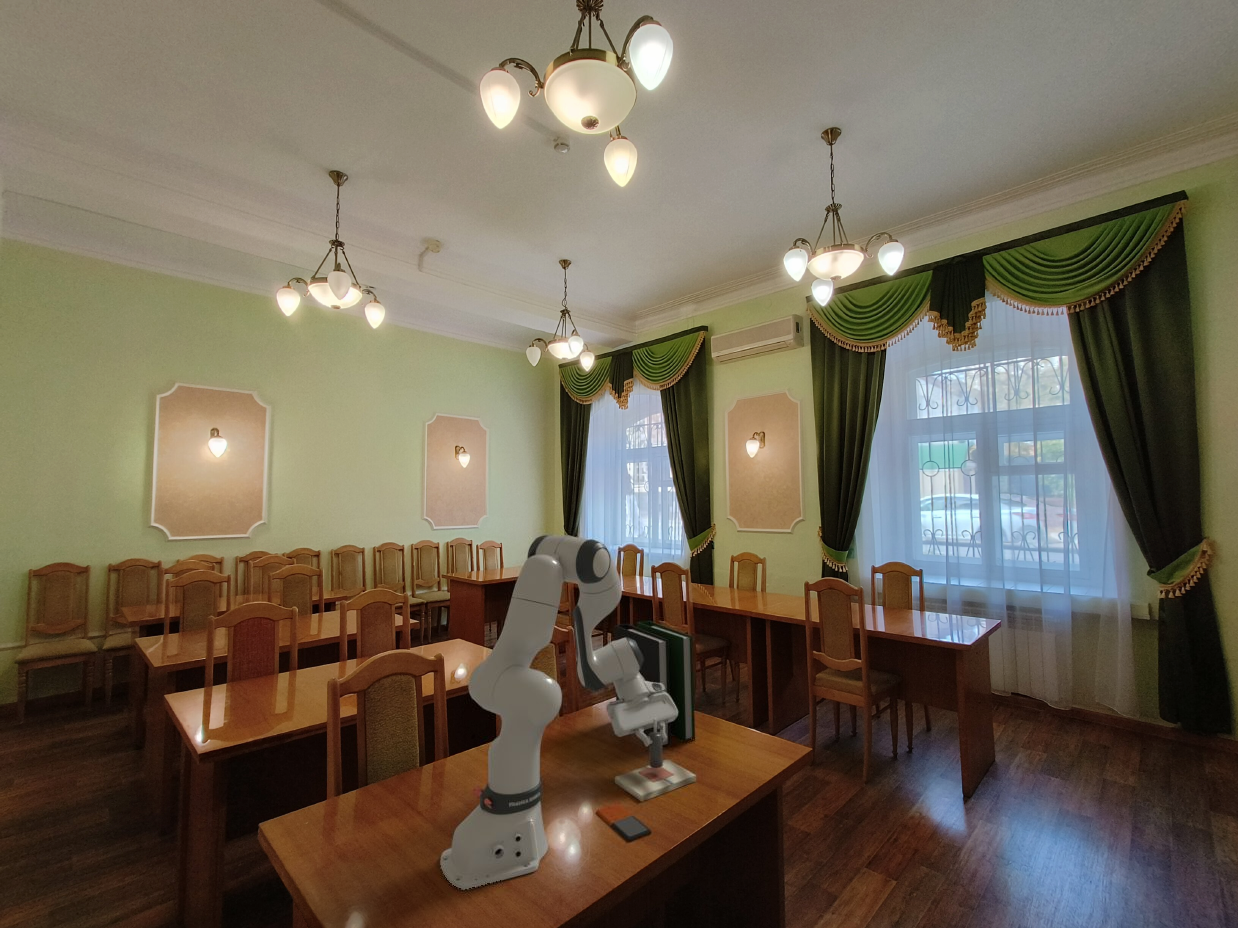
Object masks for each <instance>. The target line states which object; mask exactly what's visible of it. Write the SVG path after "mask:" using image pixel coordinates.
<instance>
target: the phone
mask: <svg viewBox="0 0 1238 928" xmlns="http://www.w3.org/2000/svg"><path fill="white" fill-rule="evenodd" d="M595 813H596V816H598V817H599V818H600V819H601V820H603V821H604V822H605V823H606V824H607V825H608V826H609V827H611V828H612V830H614V832H616V833H617V834H618V835H619V836H620V837H621V838H623V840H625V841H626V842H627V843H632V842H636V841H638V840H640V839H643V838H645V837H647V836H651V835H652V833H653V832H652V830H651V829H650V828H649V827H647V826H646V825H645V824H644V823H642V822H641V821H640V820H639V819H638V818H637V817H635V816H634V815H633V814H631V812H630V811H628V810H627V809H626V808H624V807H623V806H622V805H621V804H620V803H613V804H611V805H608V806H604V807H601V808H599V809H597V810H596V811H595Z"/></svg>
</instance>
